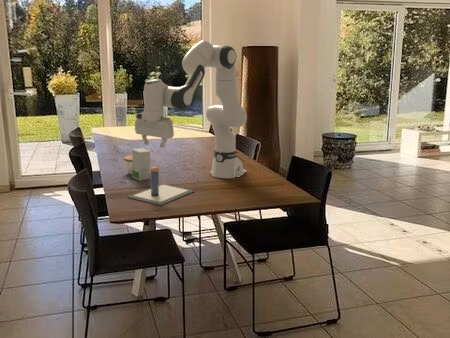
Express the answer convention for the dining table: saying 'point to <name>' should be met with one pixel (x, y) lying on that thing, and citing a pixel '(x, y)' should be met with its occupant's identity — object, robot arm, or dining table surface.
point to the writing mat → (161, 194)
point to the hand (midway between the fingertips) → (154, 145)
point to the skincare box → (140, 164)
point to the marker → (154, 181)
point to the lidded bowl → (128, 163)
